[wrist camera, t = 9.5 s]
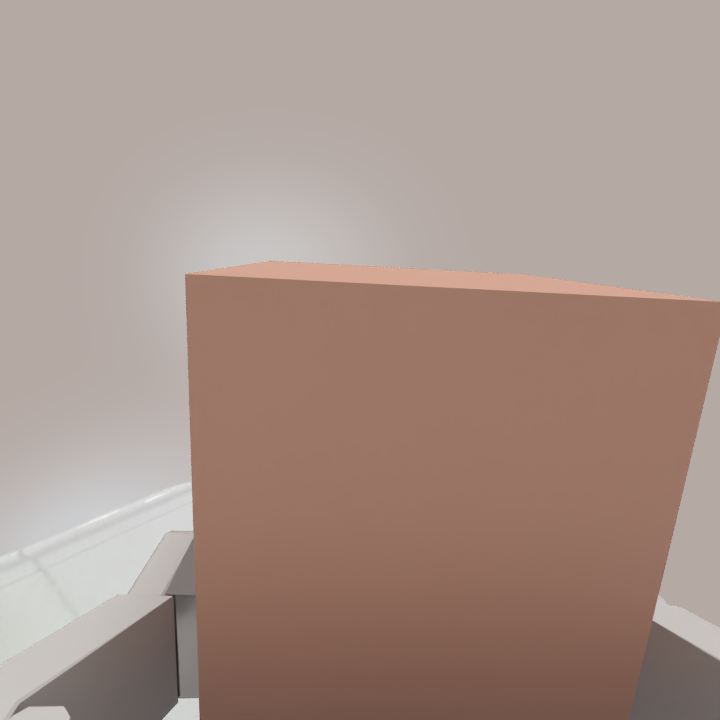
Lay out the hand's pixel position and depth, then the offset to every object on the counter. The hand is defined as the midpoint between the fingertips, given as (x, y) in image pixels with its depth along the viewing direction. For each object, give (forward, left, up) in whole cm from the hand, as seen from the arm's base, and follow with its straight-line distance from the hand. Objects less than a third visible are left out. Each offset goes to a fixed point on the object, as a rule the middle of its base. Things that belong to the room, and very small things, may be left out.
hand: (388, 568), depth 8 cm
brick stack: (0, +1, -7) cm, 7 cm away
